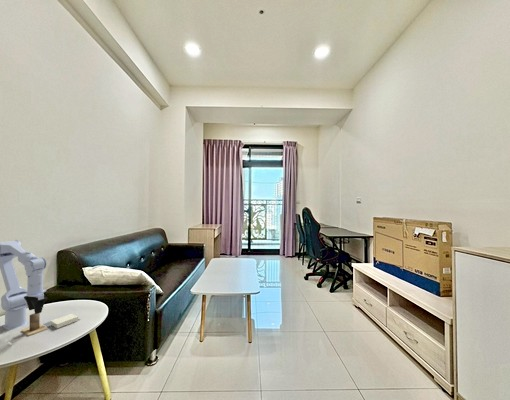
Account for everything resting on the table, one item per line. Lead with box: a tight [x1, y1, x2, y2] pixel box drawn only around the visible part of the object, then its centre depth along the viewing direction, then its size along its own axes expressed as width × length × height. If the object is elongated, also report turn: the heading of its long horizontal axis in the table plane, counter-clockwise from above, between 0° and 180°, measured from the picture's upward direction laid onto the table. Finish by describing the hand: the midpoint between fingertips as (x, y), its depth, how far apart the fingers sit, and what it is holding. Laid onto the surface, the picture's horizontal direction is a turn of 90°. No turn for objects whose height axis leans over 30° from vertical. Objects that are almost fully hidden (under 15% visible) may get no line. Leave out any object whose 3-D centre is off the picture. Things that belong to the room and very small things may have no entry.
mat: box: [42, 318, 81, 331], centre depth 125 cm, size 12×12×1 cm
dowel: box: [29, 312, 41, 331], centre depth 117 cm, size 4×4×7 cm
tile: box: [50, 313, 79, 329], centre depth 123 cm, size 2×9×7 cm
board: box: [21, 323, 48, 337], centre depth 117 cm, size 9×7×1 cm
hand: (35, 311), depth 117 cm, fingers open, 7 cm apart
